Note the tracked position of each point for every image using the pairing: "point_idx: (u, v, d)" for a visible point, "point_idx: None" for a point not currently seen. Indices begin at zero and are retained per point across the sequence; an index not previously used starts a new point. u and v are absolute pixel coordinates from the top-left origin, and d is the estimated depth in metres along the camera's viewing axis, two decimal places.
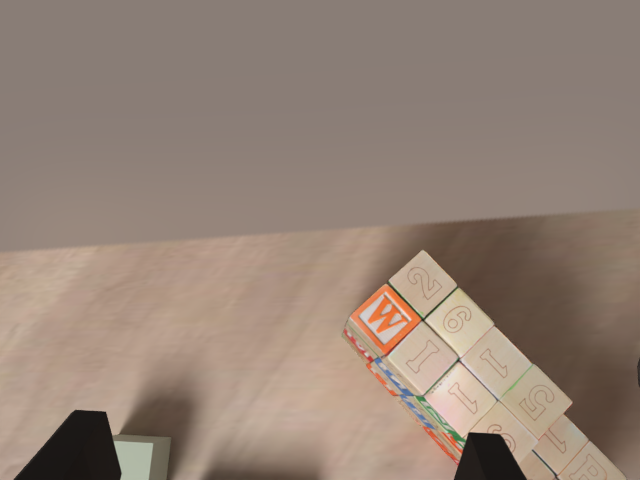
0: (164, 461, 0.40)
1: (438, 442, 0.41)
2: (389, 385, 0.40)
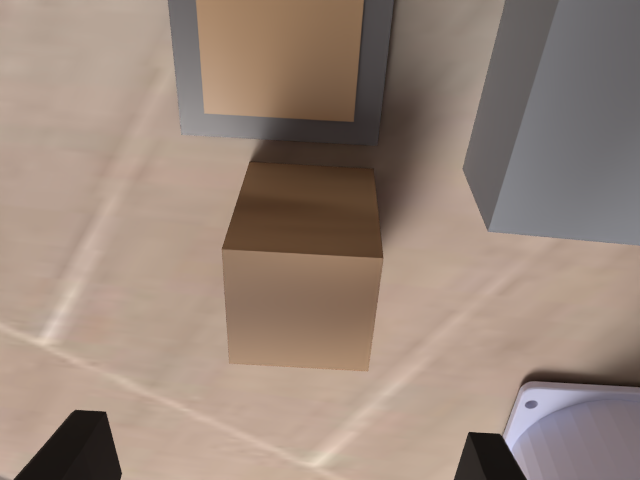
0: None
1: None
2: None
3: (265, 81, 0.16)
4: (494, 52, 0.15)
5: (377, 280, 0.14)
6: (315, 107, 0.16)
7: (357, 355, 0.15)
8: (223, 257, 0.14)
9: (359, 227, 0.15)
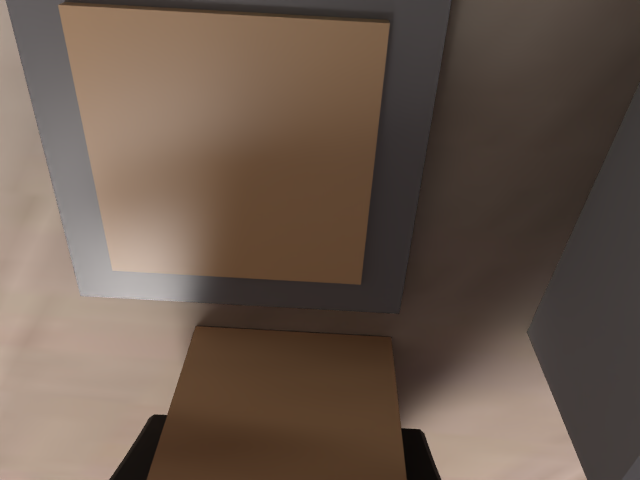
0: None
1: None
2: None
3: (211, 225, 0.09)
4: (607, 171, 0.09)
5: None
6: (297, 263, 0.10)
7: None
8: None
9: None
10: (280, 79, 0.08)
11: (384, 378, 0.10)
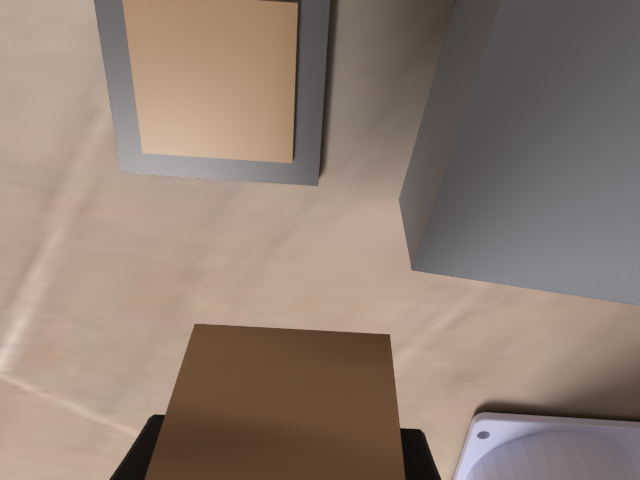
0: None
1: None
2: None
3: (202, 123, 0.16)
4: (433, 88, 0.15)
5: None
6: (253, 148, 0.16)
7: None
8: None
9: None
10: (240, 33, 0.14)
11: (383, 375, 0.10)
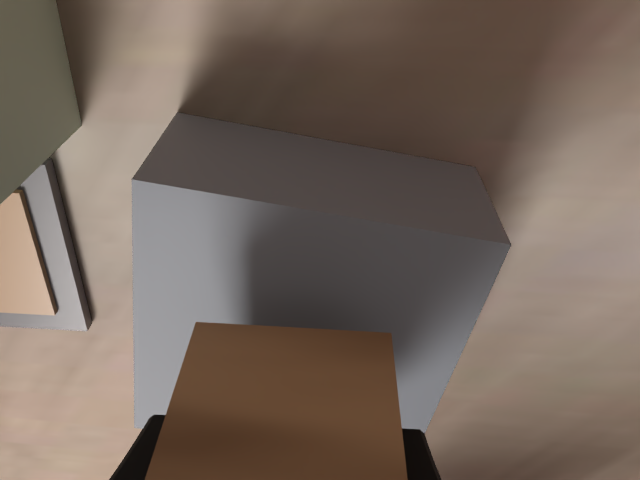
0: (37, 42, 0.12)
1: None
2: None
3: None
4: None
5: None
6: (16, 304, 0.17)
7: None
8: None
9: None
10: None
11: (384, 373, 0.10)
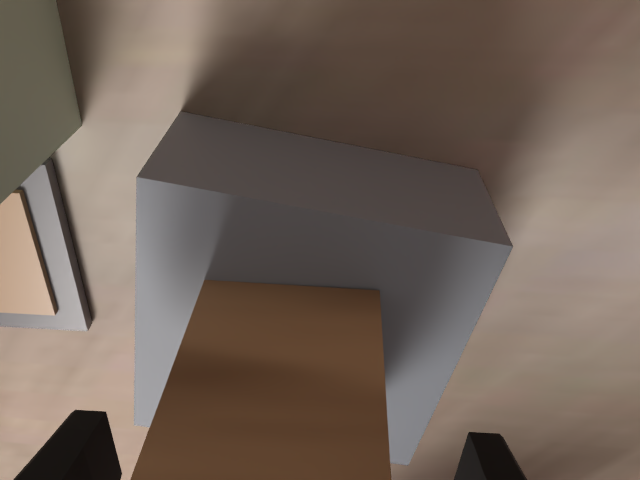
0: (37, 42, 0.12)
1: None
2: None
3: None
4: None
5: None
6: (16, 304, 0.17)
7: None
8: None
9: (356, 421, 0.09)
10: None
11: (371, 323, 0.12)
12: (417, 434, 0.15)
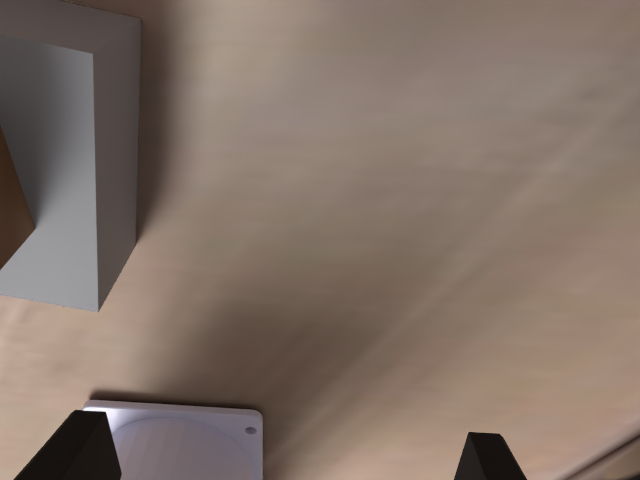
0: None
1: None
2: None
3: None
4: None
5: None
6: None
7: None
8: None
9: None
10: None
11: None
12: (92, 275, 0.16)
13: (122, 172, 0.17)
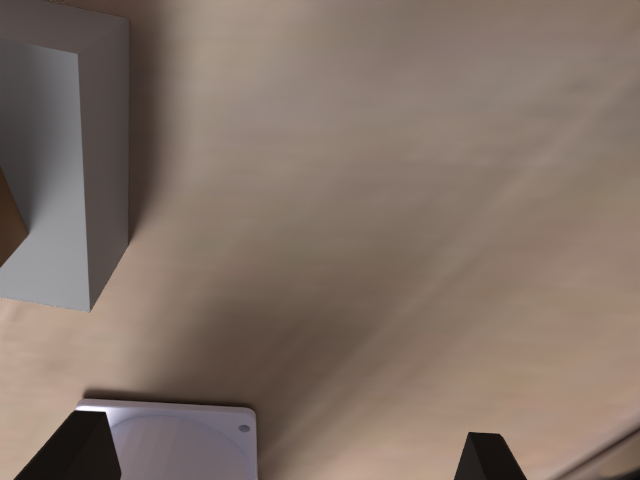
0: None
1: None
2: None
3: None
4: None
5: None
6: None
7: None
8: None
9: None
10: None
11: None
12: (83, 275, 0.16)
13: (113, 172, 0.17)
